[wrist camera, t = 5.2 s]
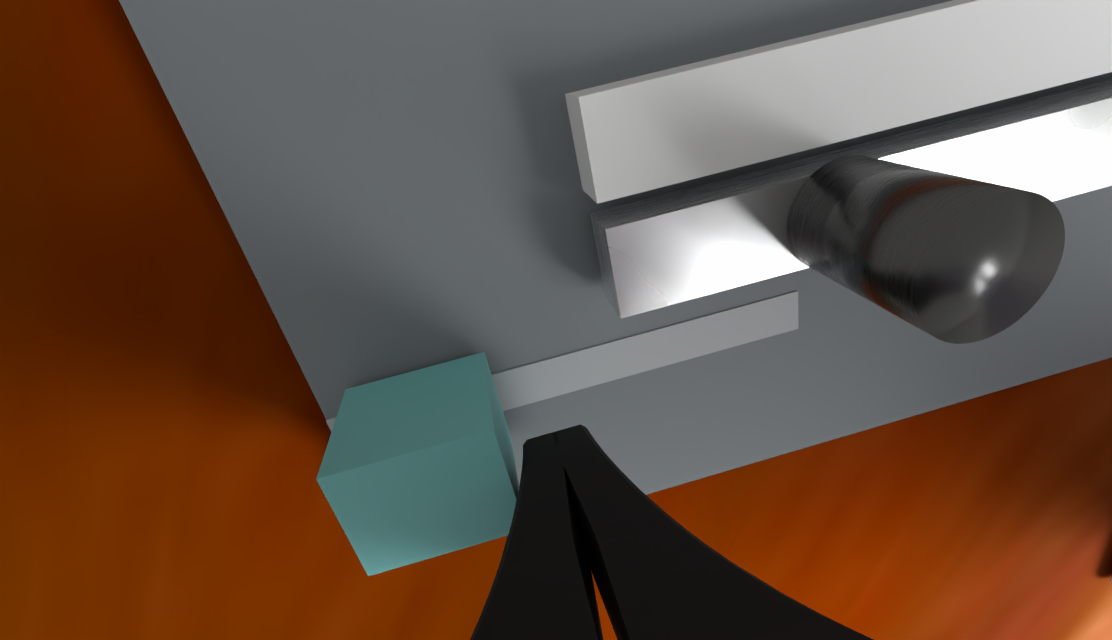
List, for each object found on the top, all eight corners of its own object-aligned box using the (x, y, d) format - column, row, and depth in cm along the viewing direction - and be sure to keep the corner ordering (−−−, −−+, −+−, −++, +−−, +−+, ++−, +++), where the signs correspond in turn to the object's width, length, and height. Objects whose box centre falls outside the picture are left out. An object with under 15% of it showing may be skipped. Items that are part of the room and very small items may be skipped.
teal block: (484, 351, 12) (493, 429, 9) (511, 439, 13) (526, 530, 10) (345, 388, 11) (316, 478, 9) (384, 475, 13) (368, 576, 10)
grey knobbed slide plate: (1519, -449, 10) (1827, -597, 7) (1227, 307, 16) (1345, 344, 14) (59, -160, 8) (-86, -245, 6) (401, 548, 15) (392, 632, 12)
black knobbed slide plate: (1224, 40, 12) (1624, 26, 8) (1192, 146, 13) (1531, 181, 9) (587, 203, 11) (668, 283, 7) (606, 303, 12) (686, 424, 8)
